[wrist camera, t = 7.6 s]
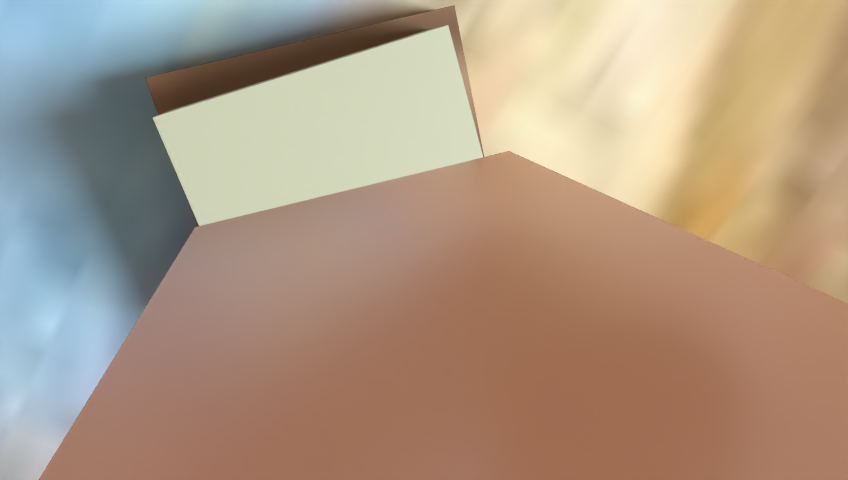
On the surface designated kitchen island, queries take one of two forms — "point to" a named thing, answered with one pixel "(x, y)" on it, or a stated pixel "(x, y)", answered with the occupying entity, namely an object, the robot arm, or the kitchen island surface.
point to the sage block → (324, 129)
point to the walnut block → (296, 61)
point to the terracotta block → (468, 347)
